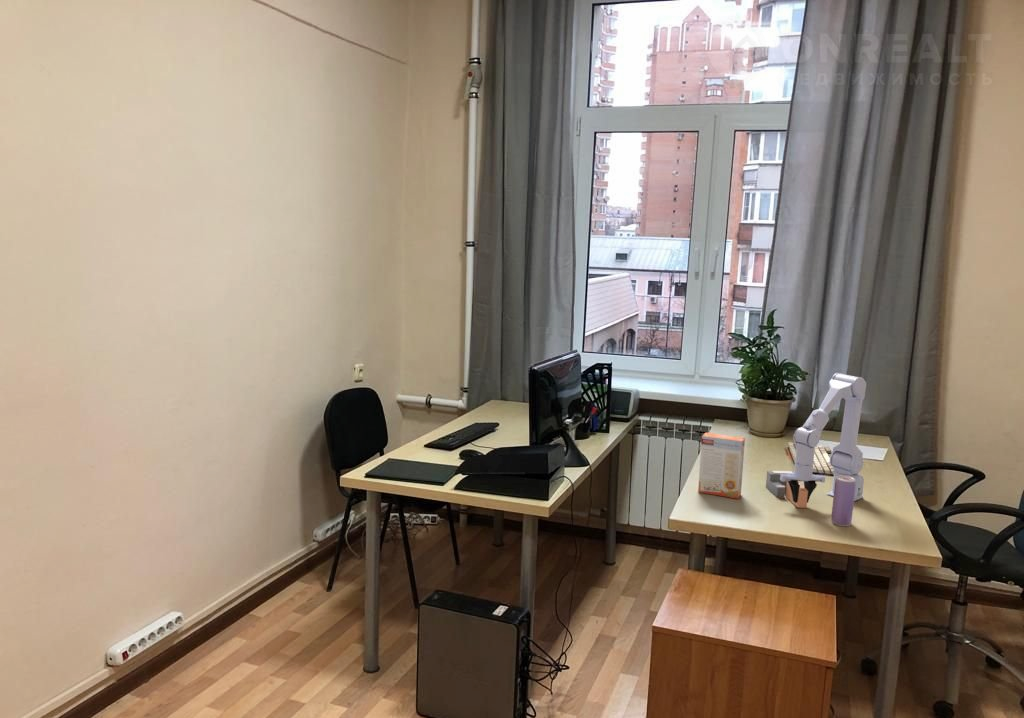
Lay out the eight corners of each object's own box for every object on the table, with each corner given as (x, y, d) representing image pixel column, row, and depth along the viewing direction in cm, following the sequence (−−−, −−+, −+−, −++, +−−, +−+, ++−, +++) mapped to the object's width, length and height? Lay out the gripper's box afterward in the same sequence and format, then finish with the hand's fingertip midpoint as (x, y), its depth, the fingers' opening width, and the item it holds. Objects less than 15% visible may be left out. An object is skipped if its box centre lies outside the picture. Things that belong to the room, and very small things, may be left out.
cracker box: (741, 494, 263) (745, 437, 260) (738, 499, 258) (742, 441, 255) (701, 487, 270) (705, 431, 266) (697, 492, 264) (701, 435, 261)
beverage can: (849, 528, 235) (854, 482, 233) (829, 523, 238) (834, 478, 236) (852, 522, 240) (857, 477, 238) (832, 518, 243) (837, 473, 241)
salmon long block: (785, 496, 262) (786, 479, 261) (793, 496, 262) (795, 480, 261) (797, 507, 252) (799, 490, 251) (806, 507, 252) (808, 490, 251)
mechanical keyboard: (846, 479, 286) (847, 470, 285) (793, 474, 290) (794, 466, 289) (829, 452, 322) (829, 444, 321) (782, 448, 326) (783, 441, 326)
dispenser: (765, 486, 272) (767, 470, 271) (793, 487, 272) (794, 470, 271) (776, 497, 261) (778, 480, 260) (805, 498, 262) (806, 480, 260)
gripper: (820, 460, 255) (816, 498, 257) (778, 459, 255) (774, 497, 257) (829, 466, 248) (825, 505, 250) (785, 465, 248) (782, 504, 250)
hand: (800, 501), depth 253 cm, fingers closed on salmon long block, 3 cm apart
